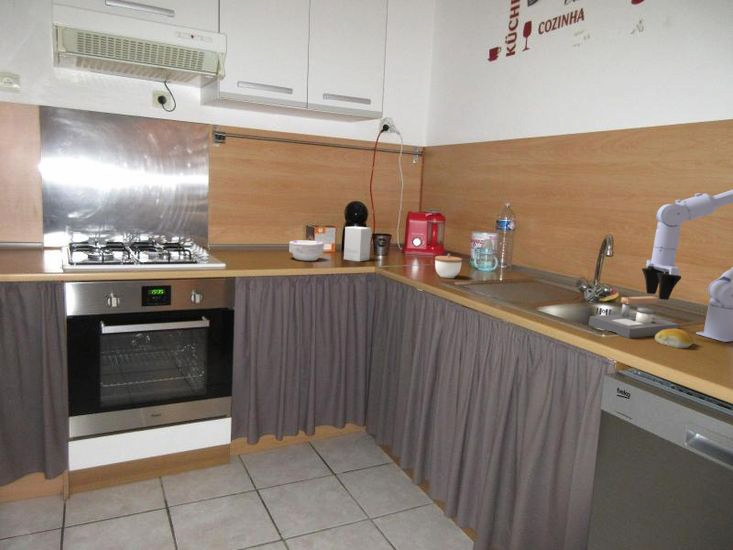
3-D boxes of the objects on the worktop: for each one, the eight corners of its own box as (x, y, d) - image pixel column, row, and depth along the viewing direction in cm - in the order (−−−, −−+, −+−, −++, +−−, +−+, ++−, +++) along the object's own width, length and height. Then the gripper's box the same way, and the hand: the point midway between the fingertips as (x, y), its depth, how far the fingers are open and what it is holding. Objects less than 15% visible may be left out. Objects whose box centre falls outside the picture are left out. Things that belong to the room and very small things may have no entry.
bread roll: (694, 344, 140) (697, 329, 139) (686, 351, 133) (689, 335, 132) (659, 336, 145) (662, 322, 144) (650, 342, 138) (652, 327, 138)
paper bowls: (286, 256, 245) (286, 239, 243) (319, 257, 249) (319, 240, 248) (291, 261, 230) (292, 243, 229) (326, 262, 235) (327, 244, 234)
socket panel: (635, 320, 161) (638, 301, 160) (677, 332, 150) (680, 311, 149) (588, 325, 152) (591, 304, 151) (628, 338, 141) (632, 315, 140)
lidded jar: (429, 276, 216) (431, 253, 214) (439, 273, 225) (441, 251, 224) (455, 280, 211) (457, 256, 209) (463, 277, 220) (466, 254, 219)
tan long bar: (626, 304, 153) (627, 299, 153) (619, 302, 156) (620, 297, 155) (657, 303, 158) (658, 298, 157) (649, 301, 160) (650, 296, 160)
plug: (640, 327, 153) (643, 307, 152) (653, 331, 150) (656, 310, 149) (631, 328, 151) (634, 307, 150) (644, 332, 148) (647, 311, 147)
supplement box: (370, 260, 250) (372, 227, 248) (359, 261, 243) (361, 228, 240) (353, 257, 255) (355, 225, 252) (343, 259, 247) (344, 226, 245)
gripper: (638, 243, 155) (631, 290, 158) (662, 250, 141) (654, 300, 144) (663, 245, 155) (656, 292, 157) (690, 252, 141) (681, 302, 143)
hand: (657, 296), depth 150 cm, fingers open, 7 cm apart
